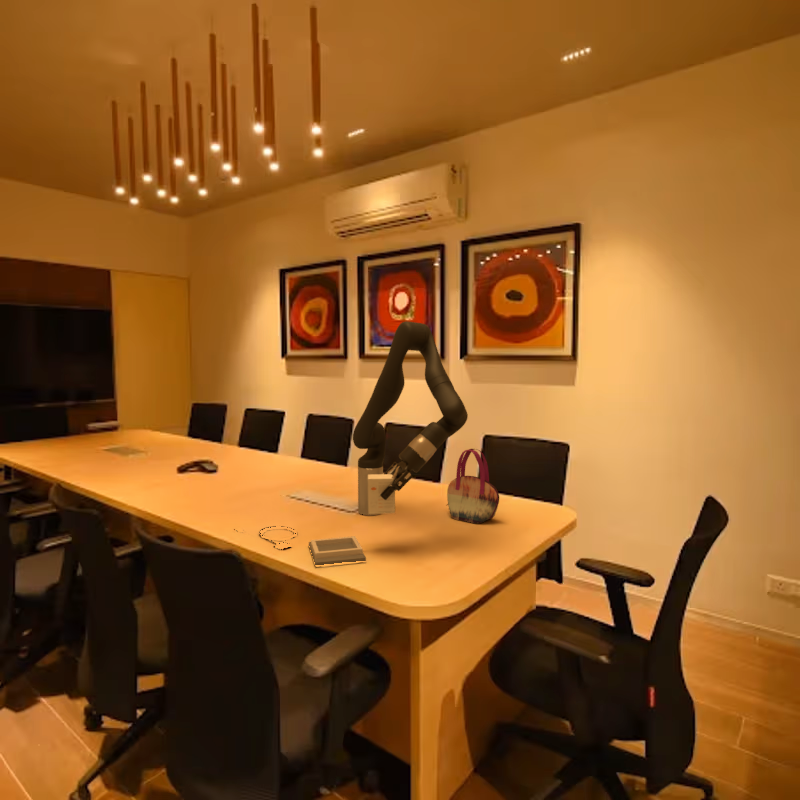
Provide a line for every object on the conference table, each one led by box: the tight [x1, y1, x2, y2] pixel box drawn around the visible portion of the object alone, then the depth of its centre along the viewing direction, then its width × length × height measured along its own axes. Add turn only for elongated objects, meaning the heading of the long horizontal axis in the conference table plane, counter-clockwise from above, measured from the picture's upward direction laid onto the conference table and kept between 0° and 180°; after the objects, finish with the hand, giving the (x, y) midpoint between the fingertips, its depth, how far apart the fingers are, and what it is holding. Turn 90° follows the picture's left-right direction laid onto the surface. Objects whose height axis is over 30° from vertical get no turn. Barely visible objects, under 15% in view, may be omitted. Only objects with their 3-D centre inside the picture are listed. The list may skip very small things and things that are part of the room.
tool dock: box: [308, 535, 367, 566], centre depth 155 cm, size 17×14×3 cm
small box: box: [368, 473, 396, 515], centre depth 157 cm, size 8×6×10 cm
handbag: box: [445, 448, 500, 524], centre depth 190 cm, size 21×10×25 cm, turn 52°
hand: (379, 494), depth 157 cm, fingers closed on small box, 6 cm apart
